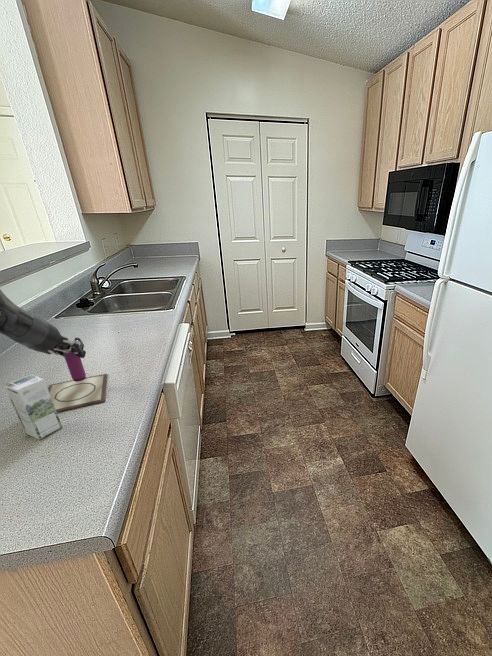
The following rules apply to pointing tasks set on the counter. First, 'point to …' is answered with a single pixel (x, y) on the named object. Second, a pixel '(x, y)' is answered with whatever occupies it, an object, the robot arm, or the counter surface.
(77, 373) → the cylinder
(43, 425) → the syrup box
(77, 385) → the board
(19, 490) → the counter surface
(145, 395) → the counter surface
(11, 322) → the robot arm
